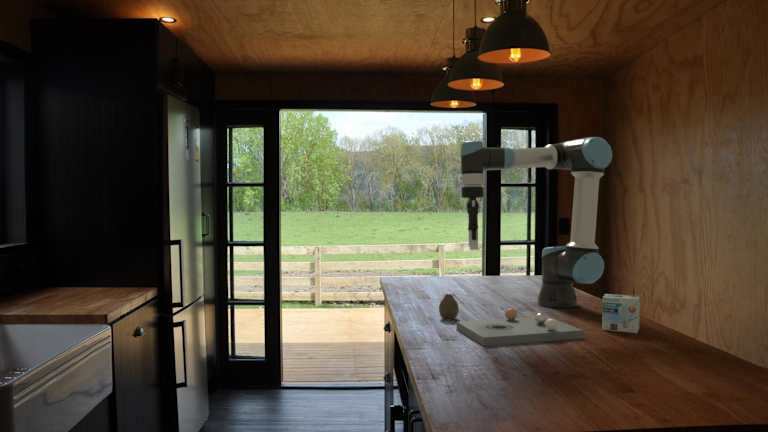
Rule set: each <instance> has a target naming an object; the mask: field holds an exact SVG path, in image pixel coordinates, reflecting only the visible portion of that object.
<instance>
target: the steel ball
mask: <svg viewBox="0 0 768 432" xmlns="http://www.w3.org/2000/svg"><path fill="white" fill-rule="evenodd" d="M546 316H547V315H545V314H544V313H542V312H541V313H540V312H539V313H537V314H535V316H534V317H535V321H536V323H538V324H544V323H545V322H546Z"/></svg>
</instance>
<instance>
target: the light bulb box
mask: <svg viewBox="0 0 768 432" xmlns="http://www.w3.org/2000/svg"><path fill="white" fill-rule="evenodd" d="M601 301H602V307H601V308H602V309H601V313H602V314H601V315H602V317H601V324H602V326H601V330H602V331H611V332H623V333H632V334H638V332H639V330H640V295H626V294H611V293H604V295H603V296H602V300H601Z"/></svg>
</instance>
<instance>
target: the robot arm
mask: <svg viewBox="0 0 768 432" xmlns="http://www.w3.org/2000/svg"><path fill="white" fill-rule="evenodd" d="M612 159H613V150H612V147H611V145H610V143H608V142H607V140H605V139H604V137H600V136H589V137H583V138H579V139H578V138H577V139H571V140H568V141H563V142H559V143H554V144H547V145H545V146H544V147H528V148H526V147H525V148H510V147H505V146H503V147H486V146H485V147H484V144H483V141H481V140H467V141H463V142H462V143H461V146H460V167H461V168H460V172H461V176H460V177H459V180H461V186H463V187H461V189H460V190H461V198H462V199H467V198H468V200H467V203H466V209H467V214H468V223H467V225H468V227H467V231H468V247H469V250H471V251H476V250H479V223H478V222H479V221H478V220H479V217H478V215H479V207H480V205H479V203H478V202H479V201H478V199H479V198H484V191H485V190H484V187H483V186H484V184H485V183H484V171H497V170H498V171H499V170H513V169H532V168H533V169H534V168H546V170H565V171H566V170H568V171H570V174H571V175H572V176H573V177H574V189H573V200H572V201H573V203H572V215H571V216H572V217H571V226H570V227H571V230H570V239H569V240H570V241H569V242H568V243H567V244H566V245H563V246H562V245H561V246H560V245H559V246H548V247H544V248H543V249H542V251H541V288H540V290H539V294H538V295H537V305H539V306H542V307H546V308H556V309H559V308H560V309H562V308H563V309H565V308H567V309H568V308H569V309H570V308H574V307H578V297H577V294H576V291H575V288H574V285H573V284H574V283H577V284H583V285H584V284H585V285H588V284H593V283H595V282H597V281H598V280H599V279H600V278H601V277H602V275H603V274H604V270H605V261H604V259H603V257H602V256H601V255H600V254H599V249H600V248H599V246H597V244H596V243H595V242H596V229H597V215H598V203H599V202H598V201H599V191H600V190H599V186H600V179H602V177H603V176H605V175H604V174H605V168H607V167H608V166H609V165H610V164H611V162H612ZM477 198H478V199H477Z"/></svg>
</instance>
